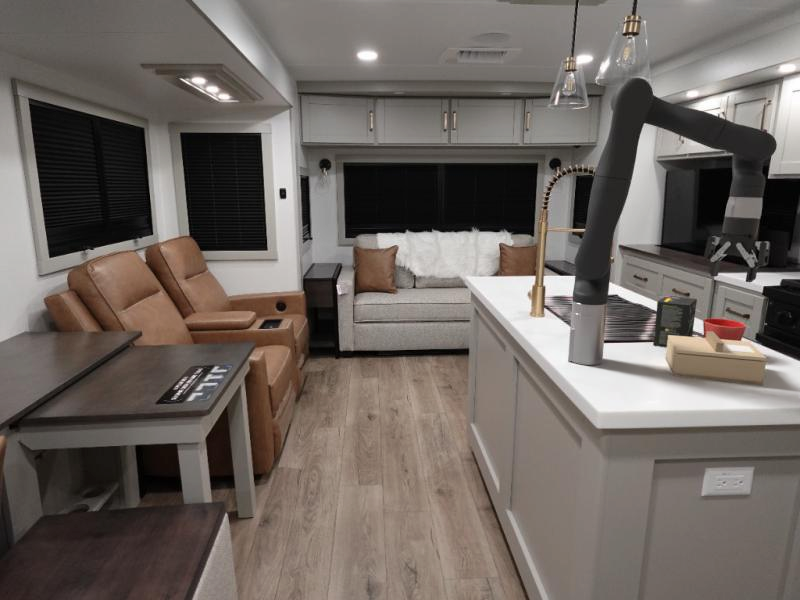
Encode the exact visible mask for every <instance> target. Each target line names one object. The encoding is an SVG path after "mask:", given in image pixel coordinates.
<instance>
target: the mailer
mask: <svg viewBox="0 0 800 600" xmlns="http://www.w3.org/2000/svg"><path fill="white" fill-rule="evenodd" d="M665 351H666V352H665V361H666V362H667V365H668V367H669V369H670V371H671V374H672V375H673V376H674V377H681V378H683V377H684V378H691V379H692V378H693V379H702V380H710V381H711V380H712V381H722V382H730V383H731V382H733V383H740V384H748V385H758V386H764V385H763V384H764V379H765V371H766V366H767V361H760V360H749V359H738V358H728V357H717V356H706V355H695V354H684V353H676V352H675V350H674V348H673V346H672V344H671V343H670V341H669V339H668V341H667V347H666V350H665Z"/></svg>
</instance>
